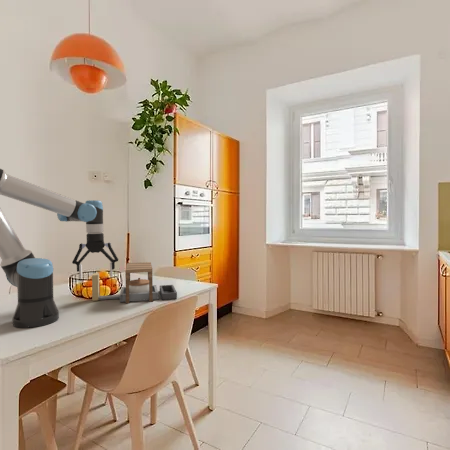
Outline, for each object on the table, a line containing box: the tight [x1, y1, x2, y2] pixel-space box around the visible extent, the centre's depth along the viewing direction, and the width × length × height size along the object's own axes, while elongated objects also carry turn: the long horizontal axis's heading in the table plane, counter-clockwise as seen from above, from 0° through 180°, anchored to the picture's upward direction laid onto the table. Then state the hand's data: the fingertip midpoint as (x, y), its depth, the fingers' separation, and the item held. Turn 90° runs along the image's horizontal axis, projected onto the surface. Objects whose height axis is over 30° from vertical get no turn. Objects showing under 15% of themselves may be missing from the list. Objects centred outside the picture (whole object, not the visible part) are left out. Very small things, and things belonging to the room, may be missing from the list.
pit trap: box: [159, 284, 178, 301], centre depth 158 cm, size 18×7×3 cm, turn 16°
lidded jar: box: [129, 277, 149, 294], centre depth 154 cm, size 11×11×9 cm
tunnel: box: [124, 261, 154, 304], centre depth 154 cm, size 21×12×16 cm, turn 16°
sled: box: [91, 272, 159, 303], centre depth 152 cm, size 16×30×12 cm, turn 106°
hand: (96, 277), depth 149 cm, fingers open, 13 cm apart
